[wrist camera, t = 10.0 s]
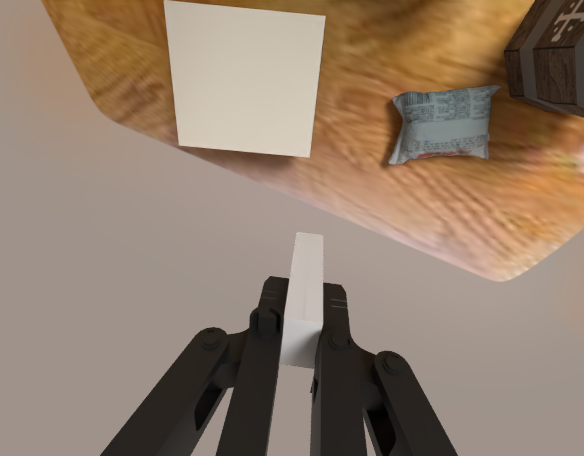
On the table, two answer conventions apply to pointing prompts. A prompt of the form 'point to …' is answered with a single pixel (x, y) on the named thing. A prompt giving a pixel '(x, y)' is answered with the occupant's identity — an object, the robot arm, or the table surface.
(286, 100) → the lid
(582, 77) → the mug
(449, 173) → the table surface
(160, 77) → the table surface
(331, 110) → the table surface
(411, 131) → the packaged food
